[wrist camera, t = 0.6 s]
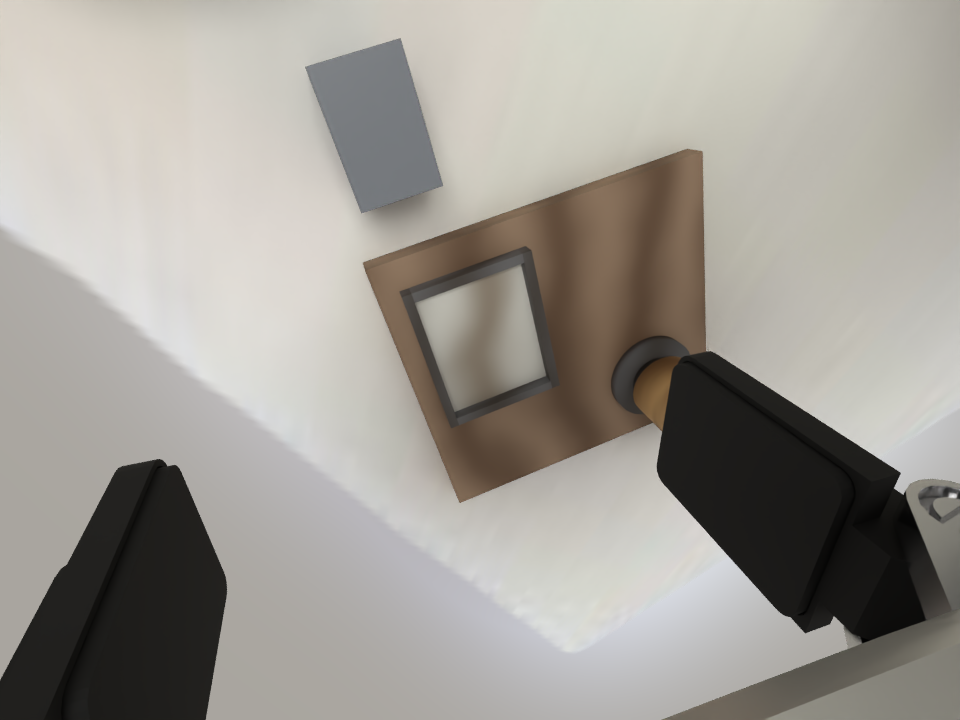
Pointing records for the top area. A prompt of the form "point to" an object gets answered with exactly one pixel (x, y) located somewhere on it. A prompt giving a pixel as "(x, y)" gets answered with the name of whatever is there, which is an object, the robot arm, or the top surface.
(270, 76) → the top surface
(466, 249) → the winding board
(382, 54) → the gray rectangular block
